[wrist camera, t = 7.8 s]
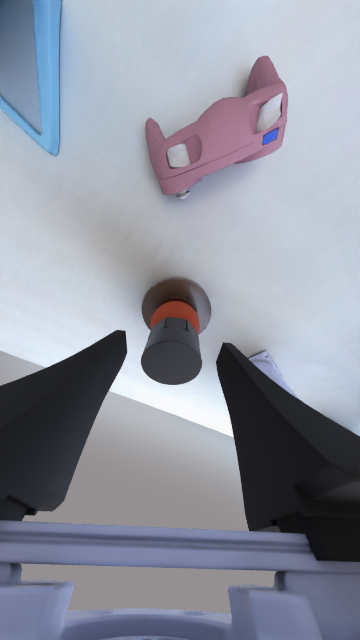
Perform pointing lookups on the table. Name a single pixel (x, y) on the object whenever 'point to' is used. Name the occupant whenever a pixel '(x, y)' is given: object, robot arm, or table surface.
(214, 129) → the pink toy car
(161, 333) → the cap
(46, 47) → the chair
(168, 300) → the ball stand
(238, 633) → the robot arm
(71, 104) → the table surface
